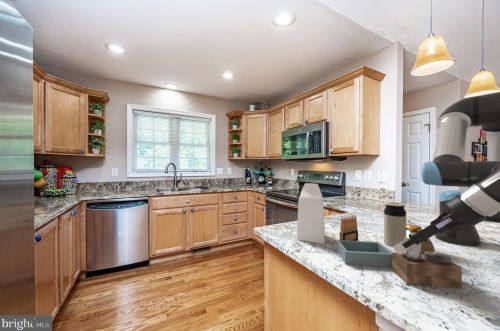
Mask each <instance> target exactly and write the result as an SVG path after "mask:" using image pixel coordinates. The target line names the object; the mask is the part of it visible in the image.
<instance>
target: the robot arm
mask: <svg viewBox="0 0 500 331" xmlns="http://www.w3.org/2000/svg"><path fill="white" fill-rule="evenodd" d="M436 127H437V130H438V134H437V139H436V143H435V148H434V152H433V157H432V160H431V161H425V162H423V163H422V165H421V180H422V183H424V185H430V186H438V187H456V188H457V187H458V188H459V187H460V188H461V187H463V188H466V189H455V190H453V189H452V190H443V191H441V192H439V197H438V198H439V200H438V202H439V214H438V217H437V218H435V219H433V220H432V221H430V222H429V223H430V224H429V225H427V226H426V227H424V228H421V231H419V232H418V233H416V234H414V235H413V236H412V235H410V234H408V236H409V237H408V238H406V239H405V240H403V241H401V242H400V243H398V244H396V245H395V246H393V247H392V249H393V250H394V251H395V253H398V254H399V255H400V254H402V253H406V251H407V250H409V249H411V248H413V247H414V246H416V245H419V244H420V243H421V242H423V241H424V242H427V241H428V240H427V239H428V238H429V239H430V238H431V237H434V238H436V239H437V240H440V241H443V242H445V243H450V244H455V245H458V246H459V245H460V246H465V247H466V246H469V247H479V246H481V244H482V240H481V238H480V235H479V233H478V231H477V228H476V225H478V224H481V223H482V222H489V223H494V224H495V223H496V224H500V91H496V92H492V93H485V94H481V95H477V96H469V97H468V96H467V97H465V98H462V99H459V100H458V101H456V102H453V103H452V104H451V105H450V106H448V107H447V108H446V109H444V111H443V112H441V114H440V115H439V116H438V118H437V122H436ZM472 127H481V131H482V132H483V133H485V134H486V135H487V139H486V140H487V151H486V152H487V154H486V155H487V159H486V160H481V161H480V160H479V161H477V160H476V161H466V147H467V134H468V129H469V128H472Z"/></svg>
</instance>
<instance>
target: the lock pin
mask: <svg viewBox="0 0 500 331" xmlns="http://www.w3.org/2000/svg"><path fill="white" fill-rule="evenodd" d="M421 230H422V226H420V225H418V224H412V223H410V224H409V223H406V238H408V237H409V236H408V234H410V235H412V236H413V235H414V234H416V233H418V232H419V231H421ZM405 253H406V259H407V260H408V261H410V262H421V243H420V244H419V245H416V246H414V247H413V248H411V249H409V250H407V251H406V252H405Z"/></svg>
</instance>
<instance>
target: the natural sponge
mask: <svg viewBox="0 0 500 331" xmlns="http://www.w3.org/2000/svg"><path fill="white" fill-rule="evenodd" d="M405 239H406V236H405V238H404V240H405ZM427 240H428V241H427V242H424V241H423V242H421V254H424V252H426V251H433V252H436V249H435V246H434V244H433V242H432V240H431V239H430V238H428V239H427Z"/></svg>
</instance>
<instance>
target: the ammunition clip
mask: <svg viewBox="0 0 500 331" xmlns="http://www.w3.org/2000/svg"><path fill="white" fill-rule="evenodd" d="M357 220H358V219H357V216H356V214H354V215H353V214H352V215H349V216H348V215H347V216H344V217H343V216H342V217H341V219H340V228H339V229H340V231H339V240H348V241H359V230H358V221H357Z"/></svg>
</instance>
